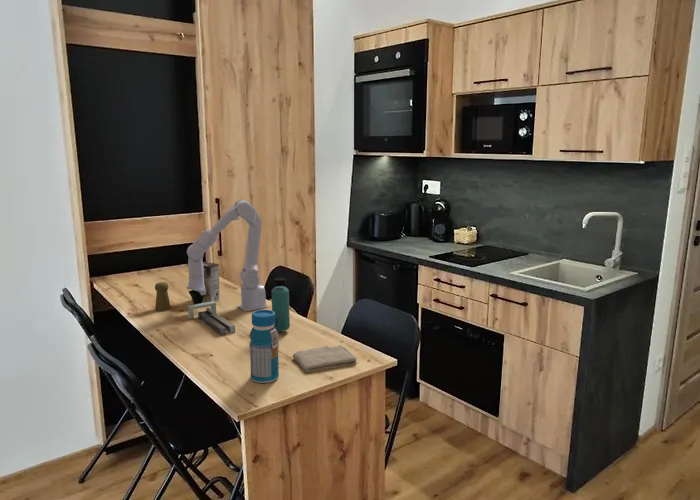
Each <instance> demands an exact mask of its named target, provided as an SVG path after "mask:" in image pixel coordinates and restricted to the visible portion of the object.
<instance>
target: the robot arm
mask: <svg viewBox="0 0 700 500" xmlns="http://www.w3.org/2000/svg"><path fill="white" fill-rule="evenodd" d="M240 219H244V220H245V222H246V223H247V224H248V230H247V241H246V249H245V259H244V263H243V268H242V270H241V272H240V274H239V278H240V279H241V281H242V283H241V285H240V297H241V299H240V301H241V302H240V303H241V304H238V305H237V307H239V308H240V310H243V311H245V312H249V311H254V310H255V311H256V310H261V309H264V308H267V305H266V304H267V301H266V300H267V299H266V298H267V297H266V289H265V286H264V285H263V284H260V277H259V275H258V274H259V268H258V260H259V252H260V251H259V250H260V242H261V231H262V223H263V222H262V219H261V217H260V215H259V213H258V212H257V209H256V208H255V207H254V206H253V205H252V204H251V203H249V201H247V200H245V199H238V200H236V201H235V202H234V204H232V205H231V206H230V207H229V208H228V209H227V210H226V212H225V213H224V214H223V215H222V216H220V218H219V219H218V220H217V222H216V223H214V225H213V226H212V227H211V229H205V230H202V231H201V232H200V236H199V237H198V238H197V239H196V240H193V241H192V244H191V245H189V246H188V247H187V249H186V254H187V257H188V259H187V262H188V264H187V268H188V282H187V285H188V286H186V287H185V288H186V290H188V293H189V295H190V298H191V300H192V303H193V304H192V305H195V304H200V303H203V302H202V301H203V298H204V295H206V289H205V285H204V268H203V262H204V261H203V258H204V255H205V252H207V251H208V250H209V249H210V248H212V246H213V245H214V243H216V242H217V240H218V235H219V234H220V233H221V232H222V231H223V230H224V229H225V227H227V226H228V225H229V224H230V223H231V222H232V221H237V220H240Z"/></svg>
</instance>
